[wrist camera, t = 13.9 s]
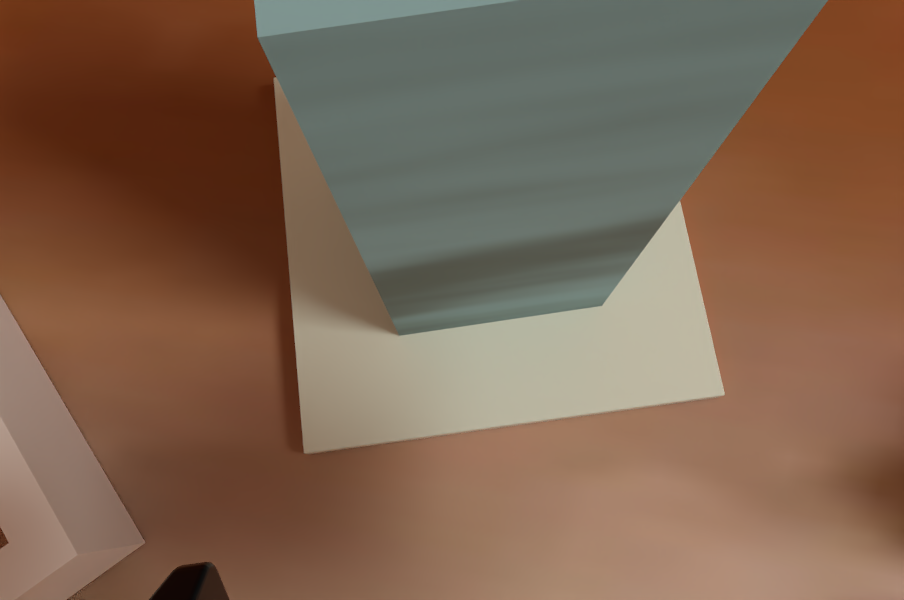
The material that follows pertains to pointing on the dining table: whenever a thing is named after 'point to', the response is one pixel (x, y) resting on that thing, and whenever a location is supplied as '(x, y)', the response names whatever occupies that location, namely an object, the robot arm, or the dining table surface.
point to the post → (515, 134)
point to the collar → (50, 486)
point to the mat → (475, 337)
